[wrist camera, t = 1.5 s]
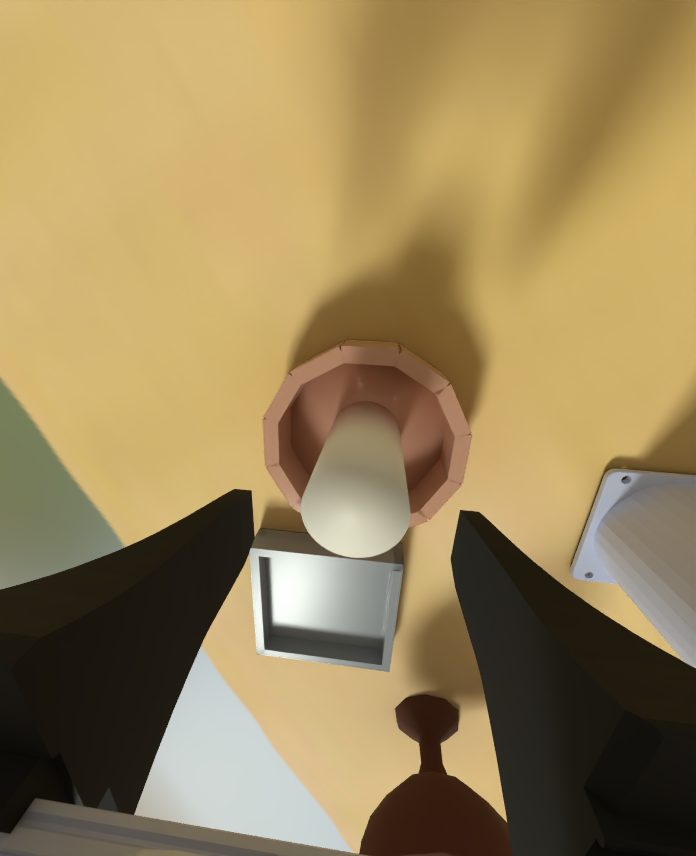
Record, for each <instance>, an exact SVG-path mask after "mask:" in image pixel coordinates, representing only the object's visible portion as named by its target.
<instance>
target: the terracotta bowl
mask: <svg viewBox="0 0 696 856" xmlns="http://www.w3.org/2000/svg"><path fill="white" fill-rule="evenodd" d="M362 401H369V402H374V403H378V404H380V405H382V406H384V407H385V408H387V409H388V410H389V411H390V412H391V413H392V414H393V415H394V417H395V418H396V420H397V422H398V425H399V430H400V437H401V445H402V452H403V460H404V467H405V474H406V482H407V489H408V497H409V504H410V522H409V526H408V528H410V527H413V526H416V525H419V524H422V523H425V522H427V519H428V520H430V519H431V518H432V517H433V516H434V515H435V514H436V513H437V512H438V510H439V509H440V508H441V507H442V506H443V505H444V504H445V503H446V502H447V501H448V500H449V499H450V497H451V496H452V495H453V494H454V493H455V492H456V491H457V490H458V489H459V488H460V487H461V486H462V485H461V483H463V479H464V474H465V469H466V464H467V459H468V454H469V448H470V443H471V438H472V435H471V430H470V428H469V425H468V423H467V421H466V418H465V416H464V414H463V411H462V409H461V406H460V404H459V402H458V399H457V397H456V395H455V392H454V390H453V387H452V385H451V384H450V382H449V381H448V380H447V379H446V378H445V377H444V376H443V374H442V373H441V372H440V371H439V370H438V369H436V368H435V367H433V366H432V365H430V364H429V363H427V362H426V361H424V360H423V359H422V358H420V357H419V356H417V355H416V354H414V353H413V352H411V351H410V350H408V349H407V348H406V347H404V346H403V345H401V344H400V343H399V344H397V342H381V341H364V340H347V341H346V340H345V341H343V342H341V343H339V344H337V345H335V346H333V347H331V348H330V349H328V350H326V351H324V352H322V353H320V354H318V355H316V356H314V357H312V358H311V359H309V360H307V361H305V362H303V363H302V364H300V365H299V366H298V367H296V368H295V369H293V370H292V371H291V372H290V373H288V375H287V377H286V378H285V380H284V382H283V384H282V385H281V387H280V389H279V391H278V392H277V394H276V396H275V398H274V399H273V401H272V403H271V404H270V406H269V408H268V410H267V411H266V413H265V415H264V419H263V434H264V455H265V466H267V467H266V469H267V471H268V472H269V474H270V475H271V477H272V478H273V480H274V481H275V483H276V485H277V486H278V488H279V489H280V491H281V492H282V494H283V496H284V497H285V499H286V500H287V502H288V503H289V505H290V506H293V507H292V508H293V509H295V510H296V511H298V512H300V513H301V501H302V497H303V494H304V492H305V489H306V487H307V485H308V482H309V480H310V477H311V475H312V473H313V470H314V468H315V466H316V463H317V461H318V458H319V456H320V454H321V451H322V449H323V447H324V444H325V442H326V439H327V437H328V435H329V432H330V430H331V428H332V425H333V423H334V421H335V418H336V417H337V415H338V414H339V413H340V412H341V411H342V410H343V409H344V408H345V407H347V406H349V405H350V404H353V403H356V402H362Z"/></svg>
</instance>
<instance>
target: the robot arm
mask: <svg viewBox="0 0 696 856" xmlns="http://www.w3.org/2000/svg"><path fill="white" fill-rule="evenodd" d="M625 476H627V477H626V478H625V479H624V480H621V479H622V478H623V477H625ZM254 539H255V536H254V521H253V506H252V491H250V490H240V489H234V490H232V491H230V492H228V493H226V494H224V495H223V496H221V497H219V498H218V499H216V500H214V501H212V502H211V503H209V504H207V505H206V506H204V507H202V508H201V509H199V510H197V511H195V512H194V513H192V514H190V515H189V516H187V517H185V518H183V519H181V520H180V521H178V522H176V523H174V524H172V525H170V526H168V527H167V528H165V529H163V530H161V531H159V532H157V533H155V534H153V535H151V536H149V537H147V538H145V539H143V540H141V541H139V542H136V543H134V544H132V545H130V546H127V547H125V548H123V549H121V550H118V551H116V552H113V553H111V554H109V555H106V556H103V557H101V558H98V559H95V560H92V561H90V562H87V563H85V564H82V565H80V566H77V567H74V568H71V569H68V570H65V571H62V572H59V573H56V574H53V575H50V576H47V577H43V578H40V579H37V580H33V581H30V582H27V583H23V584H20V585H16V586H13V587H9V588H5V589H1V590H0V856H367V855H362V854H356V853H350V852H344V851H339V850H332V849H327V848H321V847H315V846H309V845H304V844H298V843H292V842H286V841H280V840H275V839H269V838H263V837H258V836H252V835H246V834H240V833H234V832H228V831H223V830H217V829H211V828H205V827H200V826H194V825H187V824H182V823H176V822H171V821H165V820H159V819H153V818H147V817H141V816H136V815H134V813H135V810H136V808H137V805H138V802H139V800H140V797H141V794H142V791H143V789H144V786H145V783H146V780H147V778H148V775H149V772H150V770H151V767H152V764H153V761H154V759H155V756H156V753H157V751H158V748H159V746H160V743H161V741H162V738H163V736H164V733H165V730H166V728H167V725H168V723H169V720H170V718H171V715H172V712H173V710H174V707H175V705H176V703H177V700H178V698H179V696H180V693H181V691H182V688H183V686H184V684H185V681H186V679H187V676H188V674H189V672H190V669H191V667H192V665H193V662H194V660H195V658H196V656H197V653H198V651H199V649H200V647H201V644H202V642H203V640H204V638H205V636H206V634H207V632H208V630H209V628H210V626H211V624H212V622H213V621H214V619H215V617H216V615H217V613H218V612H219V610H220V608H221V606H222V604H223V603H224V601H225V599H226V597H227V595H228V594H229V592H230V590H231V588H232V586H233V585H234V583H235V581H236V579H237V577H238V575H239V574H240V572H241V570H242V568H243V566H244V564H245V562H246V559H247V557H248V554H249V552H250V549H251V547H252V544H253V541H254ZM451 564H452V571H453V577H454V583H455V588H456V592H457V595H458V599H459V602H460V605H461V609H462V612H463V616H464V619H465V622H466V626H467V629H468V632H469V636H470V639H471V642H472V646H473V649H474V652H475V656H476V659H477V663H478V667H479V671H480V675H481V679H482V684H483V689H484V694H485V699H486V704H487V709H488V714H489V719H490V724H491V730H492V735H493V741H494V746H495V751H496V757H497V762H498V768H499V774H500V780H501V786H502V792H503V798H504V804H505V810H506V816H507V823H508V830H509V836H510V843H511V850H512V856H696V475H689V474H677V473H665V472H653V471H640V470H628V469H611V470H608V471H607V472H606V473H605V475H604V477H603V480H602V483H601V485H600V488H599V491H598V494H597V496H596V499H595V502H594V505H593V507H592V510H591V513H590V516H589V518H588V521H587V524H586V527H585V529H584V532H583V535H582V538H581V540H580V543H579V546H578V549H577V551H576V554H575V557H574V560H573V562H572V565H571V568H570V574H571V575H572V577H573V578H575V579H577V580H585V581H594V582H603V583H612V584H618V585H619V586H620V587H621V588H622V590H623V591H624V592H625V593H626V594H627V596H628V597H629V598H630V599H631V600H632V601H633V603H634V604H635V605H636V606H637V607H638V609H639V610H640V611H641V612H642V613H643V615H644V616H645V617H646V618H647V619H648V620H649V622H650V623H651V624H652V625H653V626H654V628H655V629H656V630H657V631H658V632H659V633H660V635H661V636H662V637H663V638H664V639H665V641H666V642H667V643H668V644H669V645H670V646H671V648H672V649H673V650H674V651H675V652H676V654H677V655H678V656H679V657H680V658H681V659H682V661H681V660H680V659H678V658H676V657H674V656H672V655H671V654H669V653H667V652H665V651H663V650H662V649H660V648H658V647H656V646H655V645H653V644H651V643H650V642H648V641H646V640H644V639H643V638H641V637H639V636H638V635H636V634H634V633H633V632H631V631H630V630H628V629H626V628H625V627H623V626H622V625H620V624H619V623H617V622H615V621H614V620H612V619H611V618H609V617H607V616H606V615H604V614H603V613H601V612H600V611H598V610H597V609H595V608H594V607H592V606H591V605H589V604H588V603H587V602H585V601H584V600H583V599H581V598H580V597H578V596H577V595H576V594H574V593H573V592H571V591H570V590H569V589H567V588H566V587H565V586H563V585H562V584H561V583H559V582H558V581H557V580H555V579H554V578H553V577H552V576H550V575H549V574H548V573H547V572H546V571H544V570H543V569H542V568H541V567H539V566H538V565H537V564H536V563H535V562H533V561H532V560H531V559H530V558H529V557H528V556H527V555H525V554H524V553H523V552H522V551H521V550H520V549H519V548H518V547H516V546H515V545H514V544H513V543H512V542H511V541H510V540H509V539H508V538H507V537H506V536H505V535H504V534H502V533H501V532H500V531H499V530H498V529H497V528H496V527H495V526H494V525H493V524H492V523H491V522H490V521H489V520H488V519H486V518H485V517H484V516H483V515H482V514H481V513H480V512H475V511H464V510H460V514H459V519H458V524H457V529H456V534H455V539H454V544H453V549H452V555H451ZM587 572H589V573H587ZM586 573H587V574H586Z"/></svg>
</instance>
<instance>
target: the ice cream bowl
mask: <svg viewBox="0 0 696 856" xmlns="http://www.w3.org/2000/svg"><path fill="white" fill-rule="evenodd" d="M395 711H396V719H397V724H398V727H399V729H400V730H401V731H403V732H404V733H405V734H406V735H408V736H409V737H410V738H411V739H413V740H415V741H417V742H418V743H419V746H420V755H421V766H420V770H419V774H413V775H411V776H410V777H409V778H407V779H406V780H405V781H404V782H402V783H401V784H400V785H399V786H397V787H396V788H395V789H394V790H393V791H391V792H390V793H389V794H388V795H386V797H385V798H384V799H383V800H382V802H381V803H380V804H379V806H378V807H377V808H376V810H375V811H374V812H373V813H372V815H371V816H370V819H369V822H368V824H367V827H366V830H365V833H364V836H363V838H362V841H361V847H360V853H359V854H362V855H367V856H512V850H511V843H510V836H509V830H508V823H507V822H506V821H505V820H504V819H503V818H502V817H501V816H500V815H499V814H498V813H497V812H496V810H495V809H494V808H493V807H492V806H491V805H490V804H489V803H488V802H487V801H486V800H484V799H483V798H482V797H481V796H479V795H478V794H477V793H476V792H474V791H473V790H472V789H471V788H470V787H468V786H467V785H466V784H464V783H463V782H462V781H460V780H459V779H457V778H456V777H453V776H450V775H447V773H446V770H445V768H444V766H443V763H442V754H441V745H440V743H442V742H444V741H445V740H447V739H448V738H450V737H451V736H452V735H453V734H454V733H456V732H457V731H458V710H457V709H456V708H455V707H453V706H452V705H451V704H450V703H449V702H448V701H446V700H445V699H441V698H437V697H432V696H428V695H422V696H416V697H411V698H406V699H405V700H404V701H403V702H402V703H401V704H400V705H399V706H398V707H397V708H396V709H395Z"/></svg>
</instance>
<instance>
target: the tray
mask: <svg viewBox="0 0 696 856" xmlns="http://www.w3.org/2000/svg"><path fill="white" fill-rule="evenodd" d="M249 553H250V567H251V580H252V594H253V607H254V621H255V634H256V648H257V654H259V655H267V656H274V657H282V658H289V659H297V660H304V661H312V662H319V663H326V664H334V665H341V666H349V667H356V668H364V669H371V670H379V671H386V672H389V671H390V663H391V656H392V648H393V641H394V634H395V626H396V619H397V611H398V604H399V596H400V589H401V582H402V574H403V567H404V561H403V549H402V543H397V544H396V545H395V546H394V547H392V548H391V549H390V550H388V551H386V552H384V553H382V554H379V555H376V556H372V557H366V558H352V557H346V556H342V555H338V554H336V553H333V552H331V551H329V550H327V549H326V548H324V547H323V546H321V545H320V544H319V543H317V542H316V541H315V540H314V539H313V538H312V537H311V535H310V534H308V533H299V532H289V531H280V530H270V529H259V531H258V533H257V534H256V536H255V539H254V541H253V544H252V547H251V549H250V552H249Z"/></svg>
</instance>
